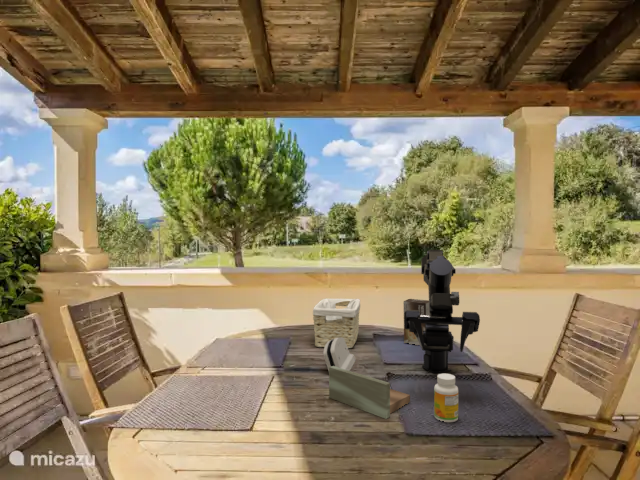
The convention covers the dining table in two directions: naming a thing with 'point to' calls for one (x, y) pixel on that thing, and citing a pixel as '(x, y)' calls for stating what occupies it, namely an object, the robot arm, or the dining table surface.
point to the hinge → (338, 354)
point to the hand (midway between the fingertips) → (442, 350)
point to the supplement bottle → (446, 398)
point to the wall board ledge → (365, 392)
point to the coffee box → (423, 310)
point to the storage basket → (336, 321)
